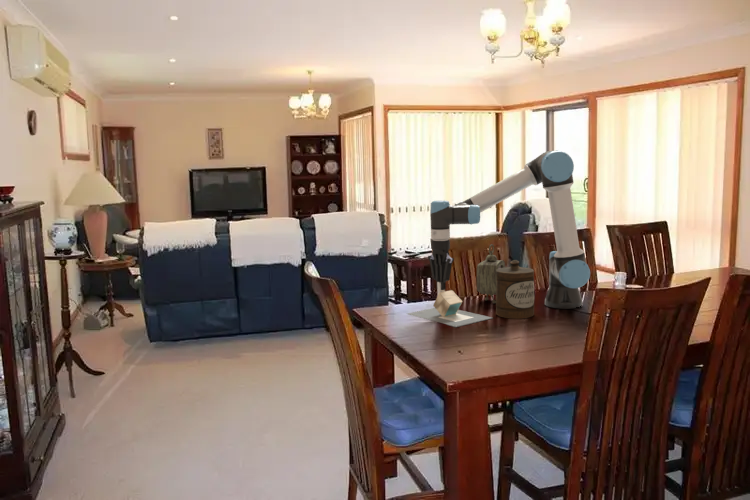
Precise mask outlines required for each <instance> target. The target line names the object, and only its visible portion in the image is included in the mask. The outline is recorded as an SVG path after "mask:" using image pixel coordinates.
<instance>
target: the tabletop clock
mask: <svg viewBox="0 0 750 500" xmlns="http://www.w3.org/2000/svg"><path fill="white" fill-rule="evenodd" d="M491 248H492V250H491ZM494 251H495V246H494V244H492V243H491V244H489V247H488V253H489V254H488V255H486V257H485V260H483V261H481V262H480V263H477V266H476V290H477V291H476V292H478V293H480V294H482V295H486V296H485V297H484V300H485V301H488V300H489V295H490V297H491V299H492V300H491V303H492V304H496V299H494V295H495V296H496V271H497V269H499V268H504V267H506V262H505V260H498V258H497V256H496V254H494Z"/></svg>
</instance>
